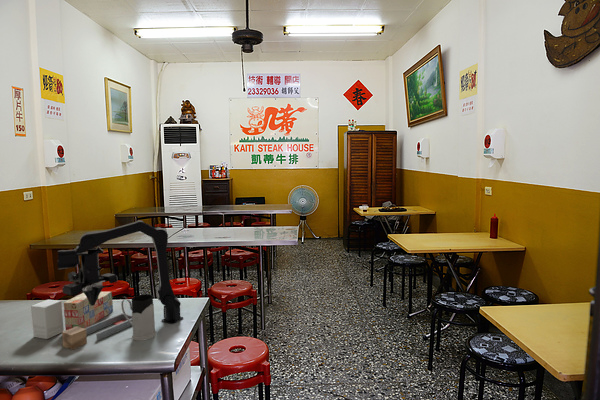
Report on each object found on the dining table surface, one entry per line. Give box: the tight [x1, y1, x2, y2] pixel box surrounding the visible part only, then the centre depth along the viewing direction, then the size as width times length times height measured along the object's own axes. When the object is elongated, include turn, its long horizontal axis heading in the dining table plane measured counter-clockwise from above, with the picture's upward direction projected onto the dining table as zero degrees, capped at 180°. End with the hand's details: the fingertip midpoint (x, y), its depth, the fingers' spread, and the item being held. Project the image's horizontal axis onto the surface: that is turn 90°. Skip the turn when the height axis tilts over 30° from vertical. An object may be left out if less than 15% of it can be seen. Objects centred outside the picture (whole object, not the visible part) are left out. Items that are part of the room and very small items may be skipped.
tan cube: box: [61, 327, 88, 351], centre depth 138 cm, size 6×6×6 cm
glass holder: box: [121, 294, 157, 341], centre depth 145 cm, size 9×14×15 cm, turn 73°
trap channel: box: [84, 312, 133, 341], centre depth 151 cm, size 10×18×2 cm, turn 153°
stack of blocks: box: [63, 291, 114, 331], centre depth 159 cm, size 21×6×12 cm, turn 172°
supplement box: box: [30, 299, 65, 340], centre depth 146 cm, size 7×7×13 cm
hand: (92, 305), depth 144 cm, fingers closed
